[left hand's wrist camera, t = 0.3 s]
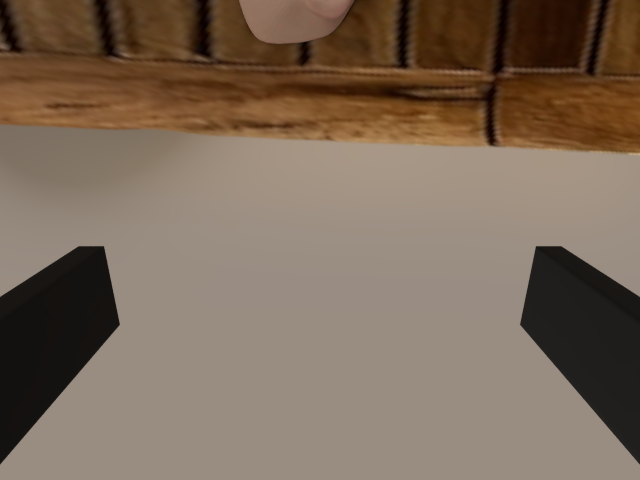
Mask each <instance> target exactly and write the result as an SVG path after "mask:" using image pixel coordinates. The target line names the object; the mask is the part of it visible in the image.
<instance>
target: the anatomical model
mask: <svg viewBox="0 0 640 480" xmlns="http://www.w3.org/2000/svg"><path fill="white" fill-rule="evenodd" d="M239 2H240V5H241V8H242V11H243V14H244V16H245V19H246V21H247V24H248V26H249V28H250V30H251V31H252V33H253V34H254V35H255V36H256V37H257V38H258V39H259V40H261V41H264V42H267V43H276V44H283V43H298V42H306V41H310V40H314V39H318V38H321V37H324V36H327V35H329V34H330V33H332V32H333V31H334V30H335V29H336V28H337V27H338V26H339V24H340V23H341V22H342V20H343V19H344V17H345V15H346V14H347V12H348V11H349V9H350V7H351V5H352V4H353V2H354V0H239Z"/></svg>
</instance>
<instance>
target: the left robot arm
mask: <svg viewBox="0 0 640 480" xmlns="http://www.w3.org/2000/svg"><path fill="white" fill-rule="evenodd" d="M119 325H120V323H119V318H118V313H117V308H116V303H115V298H114V293H113V289H112V284H111V279H110V274H109V269H108V264H107V259H106V254H105V249H104V246H79V247H77V248H75V249H74V250H72V251H71V252H69V253H68V254H66V255H65V256H63V257H61V258H60V259H58V260H57V261H55V262H54V263H52V264H51V265H49V266H48V267H46V268H44V269H43V270H41V271H40V272H38V273H37V274H35V275H33V276H32V277H30V278H29V279H27V280H26V281H24V282H23V283H21V284H20V285H18V286H16V287H15V288H13V289H12V290H10V291H9V292H7V293H6V294H4V295H2V296H1V297H0V464H1V463H2V462H3V460H4V459H5V458H6V457H7V456H8V455H9V453H10V452H11V451H12V450H13V449H14V448H15V446H16V445H17V444H18V443H19V442H20V441H21V439H22V438H23V437H24V436H25V435H26V434H27V432H28V431H29V430H30V429H31V428H32V427H33V425H34V424H35V423H36V422H37V421H38V420H39V418H40V417H41V416H42V415H43V414H44V413H45V411H46V410H47V409H48V408H49V407H50V406H51V404H52V403H53V402H54V401H55V400H56V399H57V397H58V396H59V395H60V394H61V393H62V392H63V390H64V389H65V388H66V387H67V386H68V385H69V383H70V382H71V381H72V380H73V379H74V378H75V376H76V375H77V374H78V373H79V372H80V371H81V369H82V368H83V367H84V366H85V365H86V364H87V362H88V361H89V360H90V359H91V358H92V357H93V355H94V354H95V353H96V352H97V351H98V350H99V348H100V347H101V346H102V345H103V344H104V342H105V341H106V340H107V339H108V338H109V337H110V336H111V334H112V333H113V332H114V331H115V330H116V329H117V327H118V326H119ZM520 325H521V326H522V327H523V329H524V330H525V331H526V332H527V333H528V334H529V336H530V337H531V338H532V339H533V340H534V341H535V343H536V344H537V345H538V346H539V347H540V348H541V350H542V351H543V352H544V353H545V354H546V355H547V357H548V358H549V359H550V360H551V361H552V362H553V364H554V365H555V366H556V367H557V368H558V369H559V371H560V372H561V373H562V374H563V375H564V376H565V378H566V379H567V380H568V381H569V382H570V383H571V385H572V386H573V387H574V388H575V389H576V390H577V392H578V393H579V394H580V395H581V396H582V397H583V399H584V400H585V401H586V402H587V403H588V404H589V406H590V407H591V408H592V409H593V410H594V411H595V413H596V414H597V415H598V416H599V417H600V418H601V420H602V421H603V422H604V423H605V424H606V425H607V427H608V428H609V429H610V430H611V431H612V432H613V434H614V435H615V436H616V437H617V438H618V439H619V441H620V442H621V443H622V444H623V445H624V446H625V448H626V449H627V450H628V451H629V452H630V453H631V455H632V456H633V457H634V458H635V459H636V460H637V462H638V463H639V464H640V297H639V296H638V295H636V294H634V293H633V292H631V291H630V290H628V289H627V288H625V287H624V286H622V285H620V284H619V283H617V282H616V281H614V280H613V279H611V278H610V277H608V276H607V275H605V274H603V273H602V272H600V271H599V270H597V269H596V268H594V267H593V266H591V265H589V264H588V263H586V262H585V261H583V260H582V259H580V258H579V257H577V256H575V255H574V254H572V253H571V252H569V251H568V250H566V249H565V248H563V247H561V246H536V249H535V254H534V259H533V264H532V269H531V274H530V279H529V284H528V289H527V293H526V298H525V303H524V308H523V313H522V318H521V323H520Z"/></svg>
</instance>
